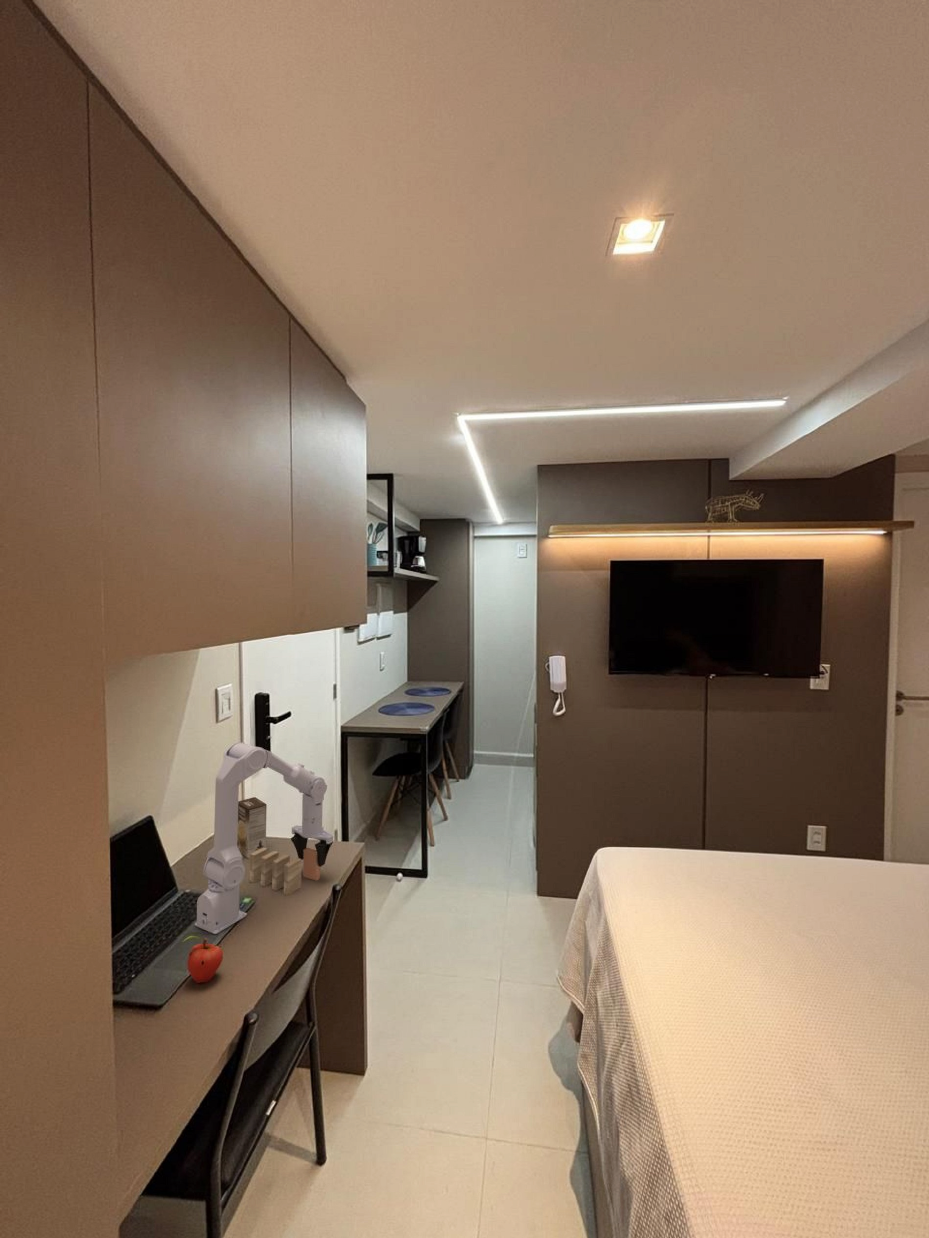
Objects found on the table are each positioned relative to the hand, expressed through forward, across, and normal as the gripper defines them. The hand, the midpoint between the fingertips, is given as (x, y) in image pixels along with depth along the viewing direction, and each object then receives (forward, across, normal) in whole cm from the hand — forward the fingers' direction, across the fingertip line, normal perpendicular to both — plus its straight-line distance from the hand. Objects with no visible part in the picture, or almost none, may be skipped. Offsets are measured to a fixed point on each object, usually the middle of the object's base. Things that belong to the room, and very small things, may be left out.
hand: (311, 862), depth 159 cm
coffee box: (+5, +29, -3) cm, 30 cm away
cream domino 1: (+4, +13, +8) cm, 16 cm away
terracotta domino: (+4, 0, 0) cm, 4 cm away
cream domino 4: (+4, 0, +8) cm, 9 cm away
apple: (+5, -11, +44) cm, 46 cm away
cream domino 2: (+4, +8, +8) cm, 13 cm away
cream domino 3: (+4, +4, +8) cm, 10 cm away
